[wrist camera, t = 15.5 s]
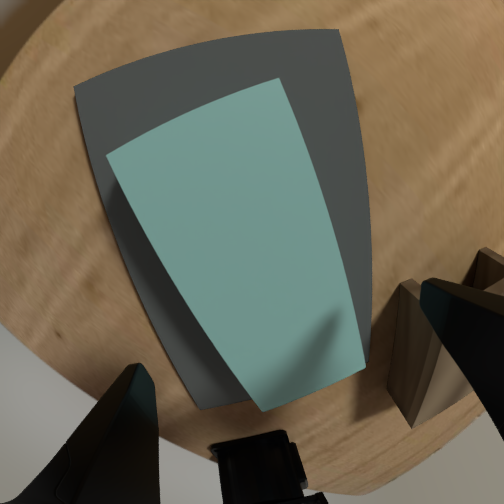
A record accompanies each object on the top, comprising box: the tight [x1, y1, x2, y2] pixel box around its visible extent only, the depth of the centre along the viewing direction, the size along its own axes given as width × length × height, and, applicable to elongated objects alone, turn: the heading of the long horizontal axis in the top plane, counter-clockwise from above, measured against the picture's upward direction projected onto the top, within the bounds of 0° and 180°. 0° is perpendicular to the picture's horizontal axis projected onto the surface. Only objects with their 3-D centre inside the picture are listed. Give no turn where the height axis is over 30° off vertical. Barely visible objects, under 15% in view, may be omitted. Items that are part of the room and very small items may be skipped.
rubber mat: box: [74, 29, 372, 410], centre depth 14 cm, size 12×20×1 cm, turn 12°
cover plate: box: [106, 78, 366, 412], centre depth 12 cm, size 6×14×3 cm, turn 22°
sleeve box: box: [386, 247, 504, 429], centre depth 17 cm, size 9×11×5 cm
